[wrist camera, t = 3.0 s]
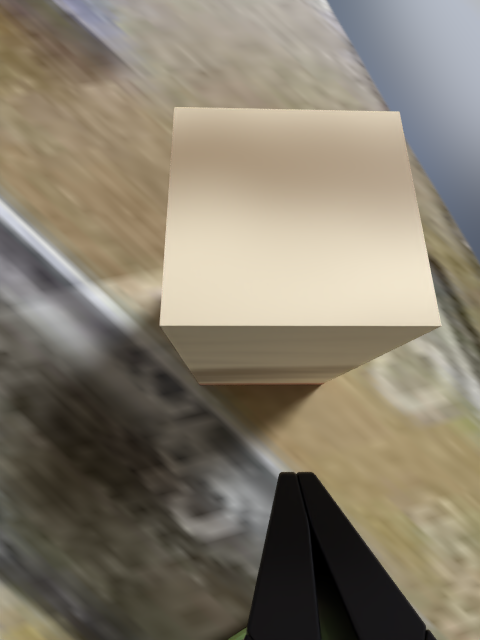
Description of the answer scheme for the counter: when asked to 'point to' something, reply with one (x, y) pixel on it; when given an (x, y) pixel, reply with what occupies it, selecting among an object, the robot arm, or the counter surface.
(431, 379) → the counter surface
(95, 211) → the counter surface
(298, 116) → the marked block
